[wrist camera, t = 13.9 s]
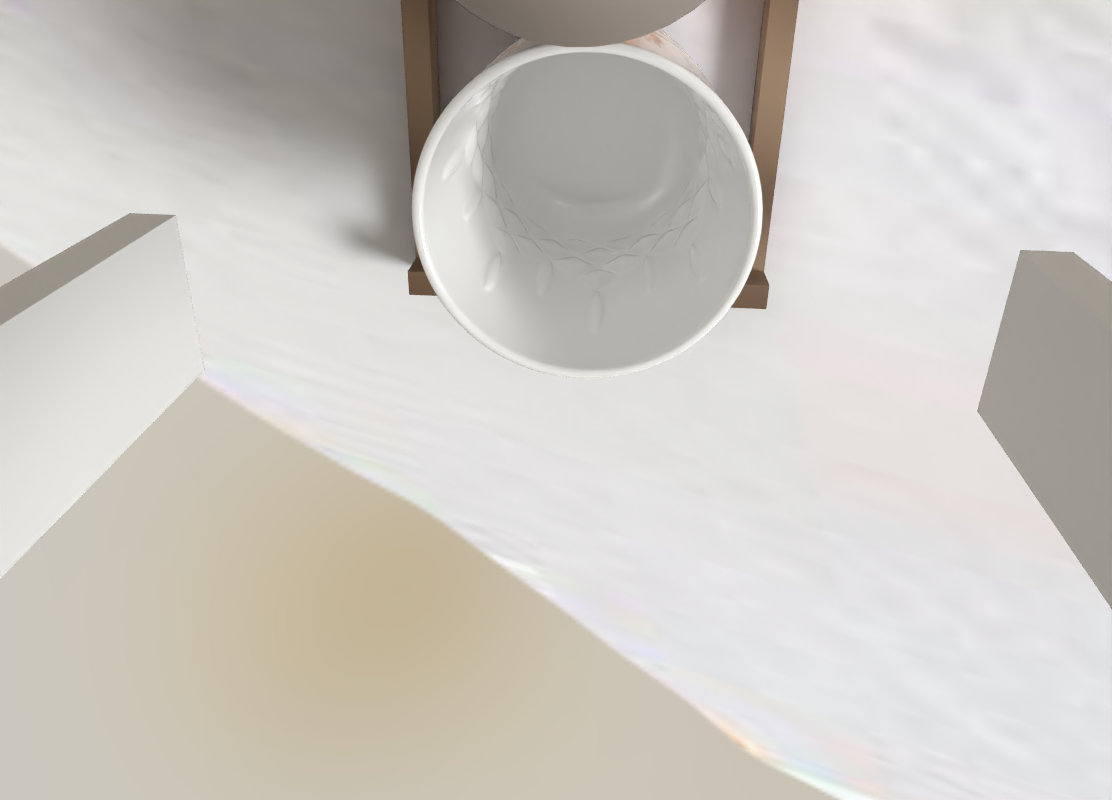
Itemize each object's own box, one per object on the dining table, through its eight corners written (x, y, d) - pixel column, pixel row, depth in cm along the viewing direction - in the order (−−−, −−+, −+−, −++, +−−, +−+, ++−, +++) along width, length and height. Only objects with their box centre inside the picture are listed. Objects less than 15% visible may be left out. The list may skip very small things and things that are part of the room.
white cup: (488, 243, 31) (436, 384, 23) (460, -4, 27) (384, 53, 19) (719, 232, 30) (756, 374, 22) (723, -24, 27) (771, 27, 18)
